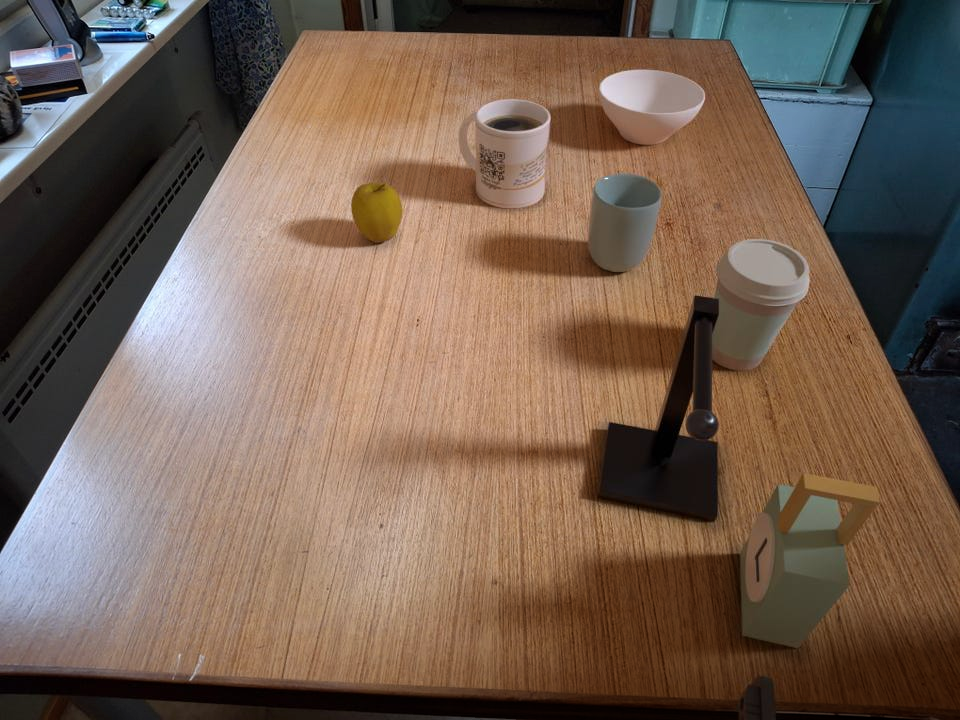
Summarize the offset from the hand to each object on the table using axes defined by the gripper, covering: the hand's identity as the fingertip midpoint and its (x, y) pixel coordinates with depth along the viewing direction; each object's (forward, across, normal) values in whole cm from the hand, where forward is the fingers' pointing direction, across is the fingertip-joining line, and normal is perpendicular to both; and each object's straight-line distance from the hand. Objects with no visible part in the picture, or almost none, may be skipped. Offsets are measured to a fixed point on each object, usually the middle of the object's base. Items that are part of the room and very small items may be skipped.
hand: (842, 701), depth 36 cm
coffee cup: (+40, +2, +12) cm, 41 cm away
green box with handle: (+12, 0, +12) cm, 16 cm away
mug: (+67, +33, +11) cm, 75 cm away
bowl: (+88, +15, +11) cm, 90 cm away
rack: (+19, +9, +11) cm, 24 cm away
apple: (+51, +46, +12) cm, 69 cm away
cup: (+53, +16, +11) cm, 56 cm away
